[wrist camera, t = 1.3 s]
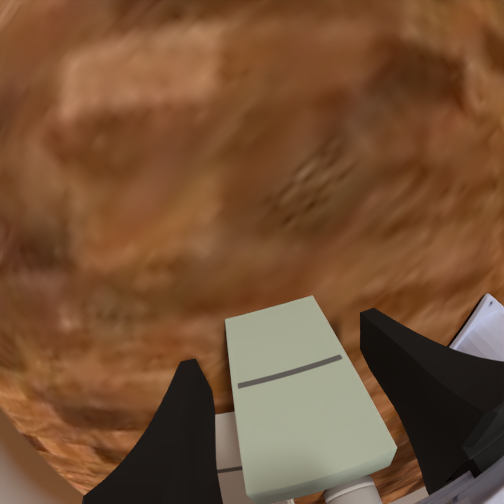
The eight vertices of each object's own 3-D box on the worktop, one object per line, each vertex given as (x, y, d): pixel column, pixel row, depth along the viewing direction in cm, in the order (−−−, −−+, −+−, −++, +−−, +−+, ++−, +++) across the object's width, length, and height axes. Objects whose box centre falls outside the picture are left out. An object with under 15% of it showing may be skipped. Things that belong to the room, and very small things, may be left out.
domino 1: (191, 418, 15) (195, 537, 8) (256, 406, 15) (281, 529, 8) (199, 429, 16) (206, 541, 9) (260, 418, 16) (285, 532, 9)
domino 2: (224, 319, 13) (246, 494, 5) (312, 295, 13) (397, 447, 5) (233, 342, 13) (258, 505, 6) (315, 319, 13) (389, 465, 6)
